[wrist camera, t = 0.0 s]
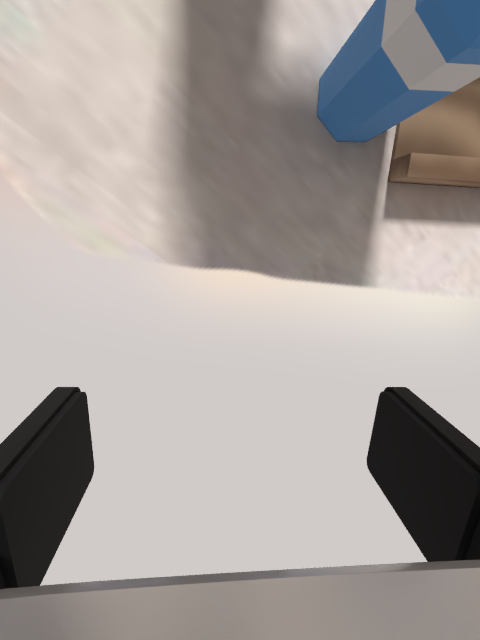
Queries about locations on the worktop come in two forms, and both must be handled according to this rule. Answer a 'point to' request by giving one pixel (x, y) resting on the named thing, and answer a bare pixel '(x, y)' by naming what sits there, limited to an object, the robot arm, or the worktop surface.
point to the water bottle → (399, 65)
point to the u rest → (441, 142)
